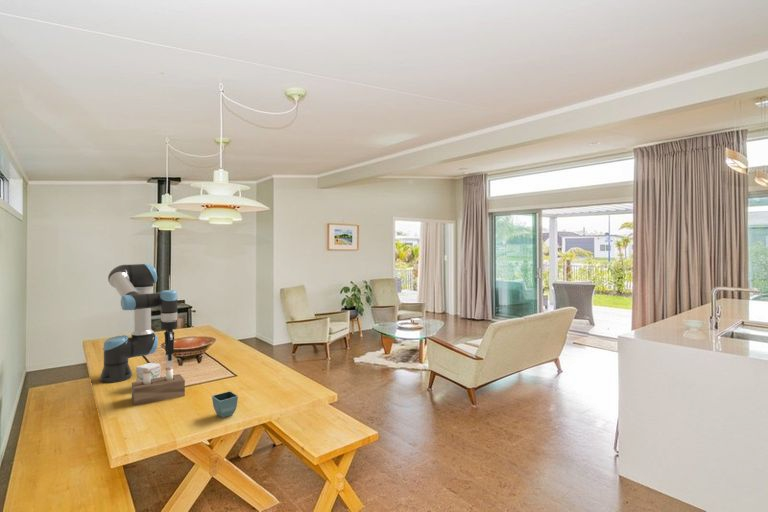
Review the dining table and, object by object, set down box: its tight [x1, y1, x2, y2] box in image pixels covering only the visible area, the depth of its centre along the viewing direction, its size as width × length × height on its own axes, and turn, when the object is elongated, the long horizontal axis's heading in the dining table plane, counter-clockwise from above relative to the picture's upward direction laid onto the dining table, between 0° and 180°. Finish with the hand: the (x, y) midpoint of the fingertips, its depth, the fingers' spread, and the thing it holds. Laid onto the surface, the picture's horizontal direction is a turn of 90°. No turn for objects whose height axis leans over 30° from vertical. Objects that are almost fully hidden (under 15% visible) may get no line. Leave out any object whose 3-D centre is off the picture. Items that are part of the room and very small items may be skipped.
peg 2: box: [165, 366, 174, 381], centre depth 209 cm, size 3×3×8 cm
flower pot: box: [211, 390, 239, 419], centre depth 186 cm, size 9×9×9 cm
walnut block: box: [131, 373, 186, 407], centre depth 206 cm, size 12×22×8 cm, turn 127°
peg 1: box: [143, 370, 151, 385], centre depth 203 cm, size 3×3×8 cm
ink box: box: [135, 362, 162, 382], centre depth 220 cm, size 9×8×12 cm
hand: (169, 366), depth 209 cm, fingers closed
